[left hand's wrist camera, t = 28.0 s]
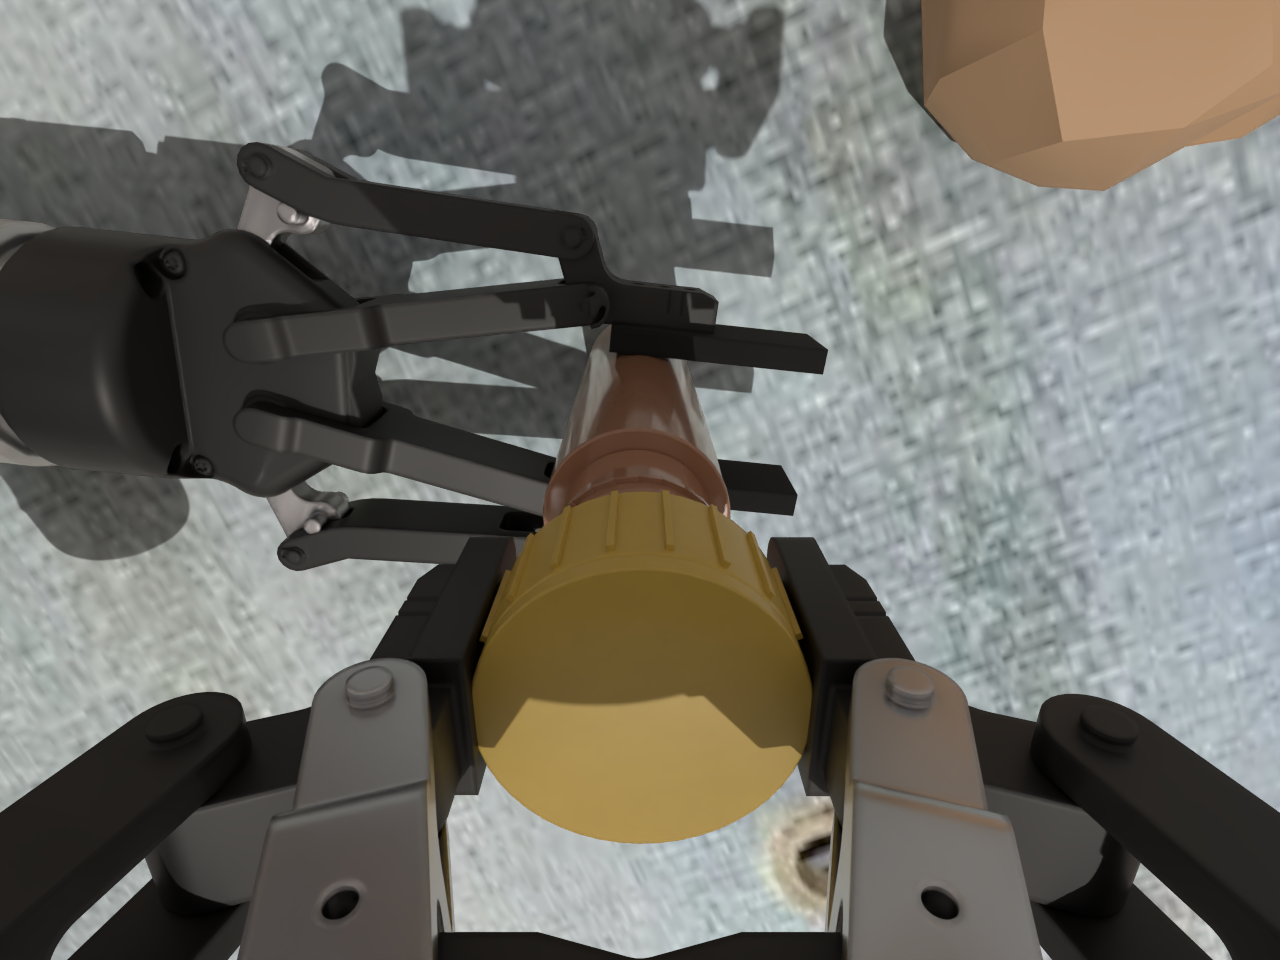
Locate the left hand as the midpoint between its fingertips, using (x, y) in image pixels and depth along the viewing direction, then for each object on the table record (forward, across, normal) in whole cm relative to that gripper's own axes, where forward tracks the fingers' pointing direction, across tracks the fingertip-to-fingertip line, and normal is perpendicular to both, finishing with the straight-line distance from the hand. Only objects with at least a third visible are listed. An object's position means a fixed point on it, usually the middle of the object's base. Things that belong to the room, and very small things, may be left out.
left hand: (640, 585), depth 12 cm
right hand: (+11, -5, 0) cm, 12 cm away
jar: (+18, 0, 0) cm, 18 cm away
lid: (-3, 0, 0) cm, 3 cm away
